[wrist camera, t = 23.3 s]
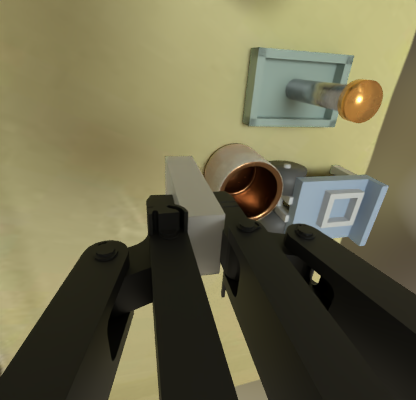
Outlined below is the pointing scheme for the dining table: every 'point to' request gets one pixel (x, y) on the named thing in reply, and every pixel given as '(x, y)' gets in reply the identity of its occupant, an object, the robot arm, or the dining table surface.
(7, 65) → the dining table surface
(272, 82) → the tray
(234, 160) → the planter
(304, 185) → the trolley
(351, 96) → the orange and grey cylinder
